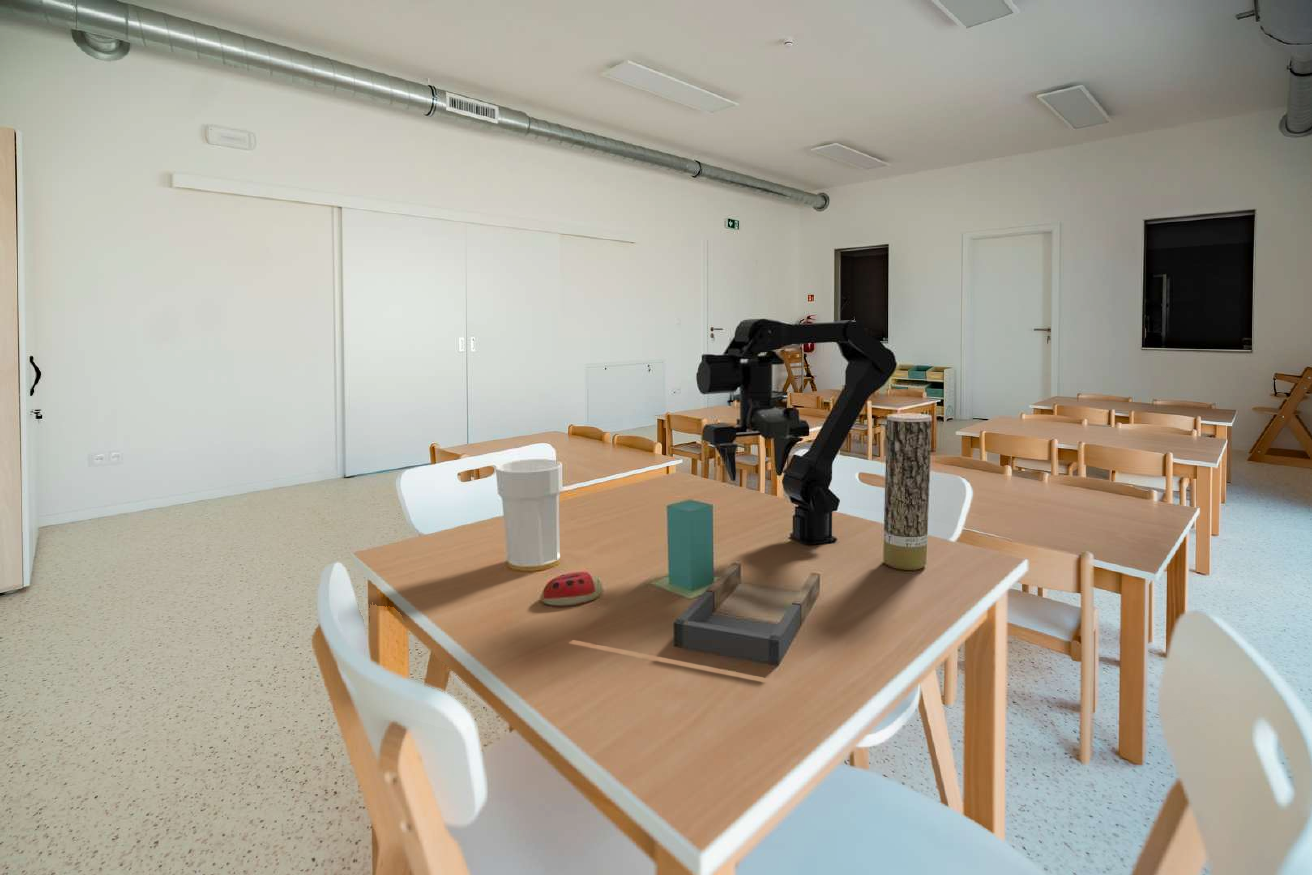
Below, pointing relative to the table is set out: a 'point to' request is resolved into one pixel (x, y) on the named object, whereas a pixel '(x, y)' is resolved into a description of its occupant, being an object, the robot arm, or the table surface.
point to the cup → (531, 512)
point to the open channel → (760, 597)
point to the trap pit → (735, 633)
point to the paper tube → (907, 490)
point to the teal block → (690, 544)
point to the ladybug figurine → (572, 589)
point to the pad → (681, 591)
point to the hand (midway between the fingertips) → (756, 477)
